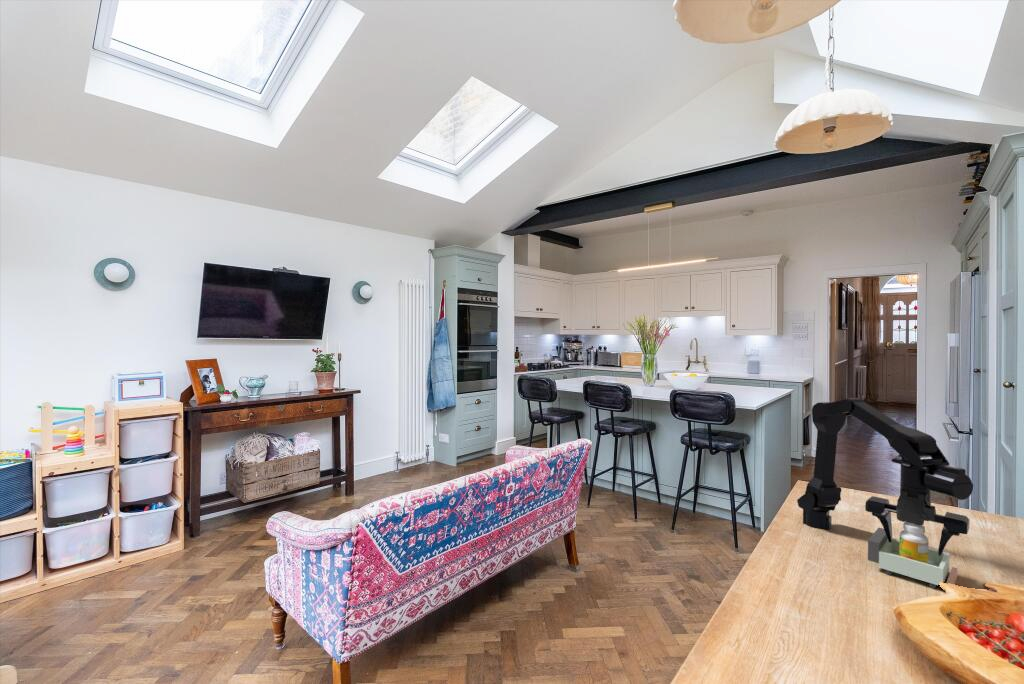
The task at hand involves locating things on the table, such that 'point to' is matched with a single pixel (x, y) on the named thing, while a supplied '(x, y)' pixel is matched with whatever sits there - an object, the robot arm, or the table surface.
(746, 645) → the table surface
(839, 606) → the table surface
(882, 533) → the pale green bin
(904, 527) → the supplement bottle
